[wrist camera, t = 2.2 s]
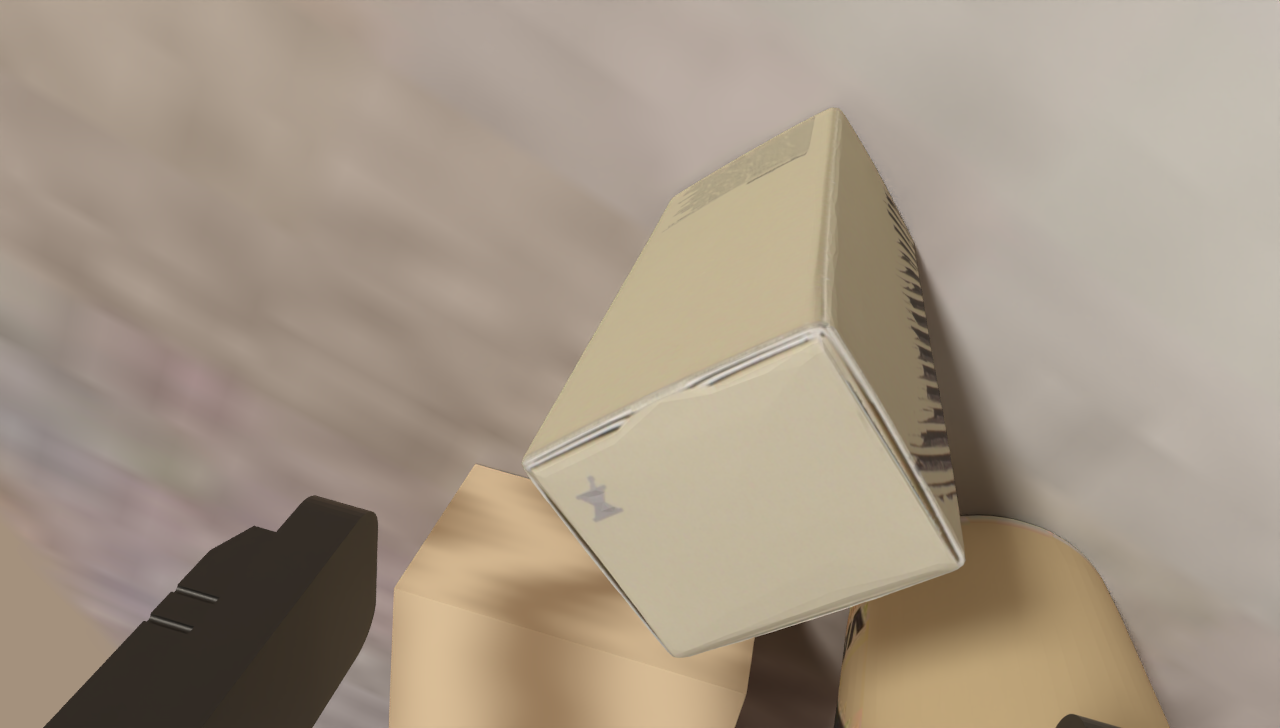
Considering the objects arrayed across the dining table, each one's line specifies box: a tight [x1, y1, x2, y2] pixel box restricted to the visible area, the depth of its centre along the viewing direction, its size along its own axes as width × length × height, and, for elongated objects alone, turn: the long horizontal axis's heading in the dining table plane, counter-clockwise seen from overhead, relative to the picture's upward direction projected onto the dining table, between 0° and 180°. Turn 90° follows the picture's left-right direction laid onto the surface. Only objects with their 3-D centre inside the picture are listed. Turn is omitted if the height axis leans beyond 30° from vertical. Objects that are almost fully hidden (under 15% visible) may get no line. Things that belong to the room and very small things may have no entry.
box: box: [522, 108, 966, 658], centre depth 18 cm, size 5×4×13 cm
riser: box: [389, 464, 755, 728], centre depth 29 cm, size 10×10×6 cm
